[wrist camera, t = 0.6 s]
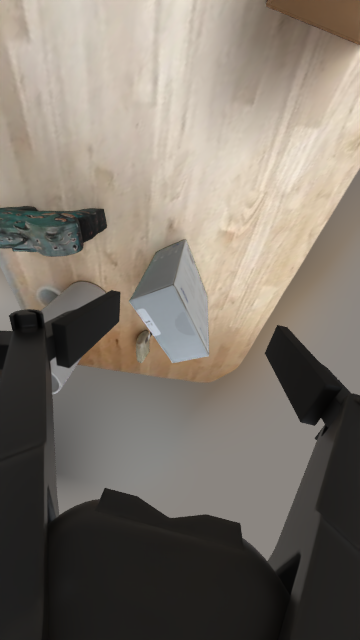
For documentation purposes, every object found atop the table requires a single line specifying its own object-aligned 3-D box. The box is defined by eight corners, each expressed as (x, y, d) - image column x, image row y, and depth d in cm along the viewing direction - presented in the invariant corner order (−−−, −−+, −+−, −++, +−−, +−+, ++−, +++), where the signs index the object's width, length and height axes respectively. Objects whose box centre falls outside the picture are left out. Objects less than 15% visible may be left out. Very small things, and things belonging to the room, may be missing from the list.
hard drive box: (154, 251, 42) (126, 298, 26) (186, 238, 39) (174, 281, 24) (181, 305, 50) (172, 364, 35) (208, 296, 48) (211, 356, 32)
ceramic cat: (111, 203, 37) (43, 227, 21) (116, 237, 41) (63, 278, 25) (16, 197, 38) (-115, 215, 22) (31, 231, 42) (-71, 267, 26)
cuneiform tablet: (155, 324, 56) (156, 351, 63) (142, 320, 56) (144, 347, 64) (145, 340, 50) (147, 367, 58) (130, 335, 51) (134, 363, 59)
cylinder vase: (61, 278, 49) (-32, 349, 29) (107, 281, 48) (42, 356, 29) (77, 316, 57) (11, 391, 37) (116, 319, 56) (70, 397, 37)
